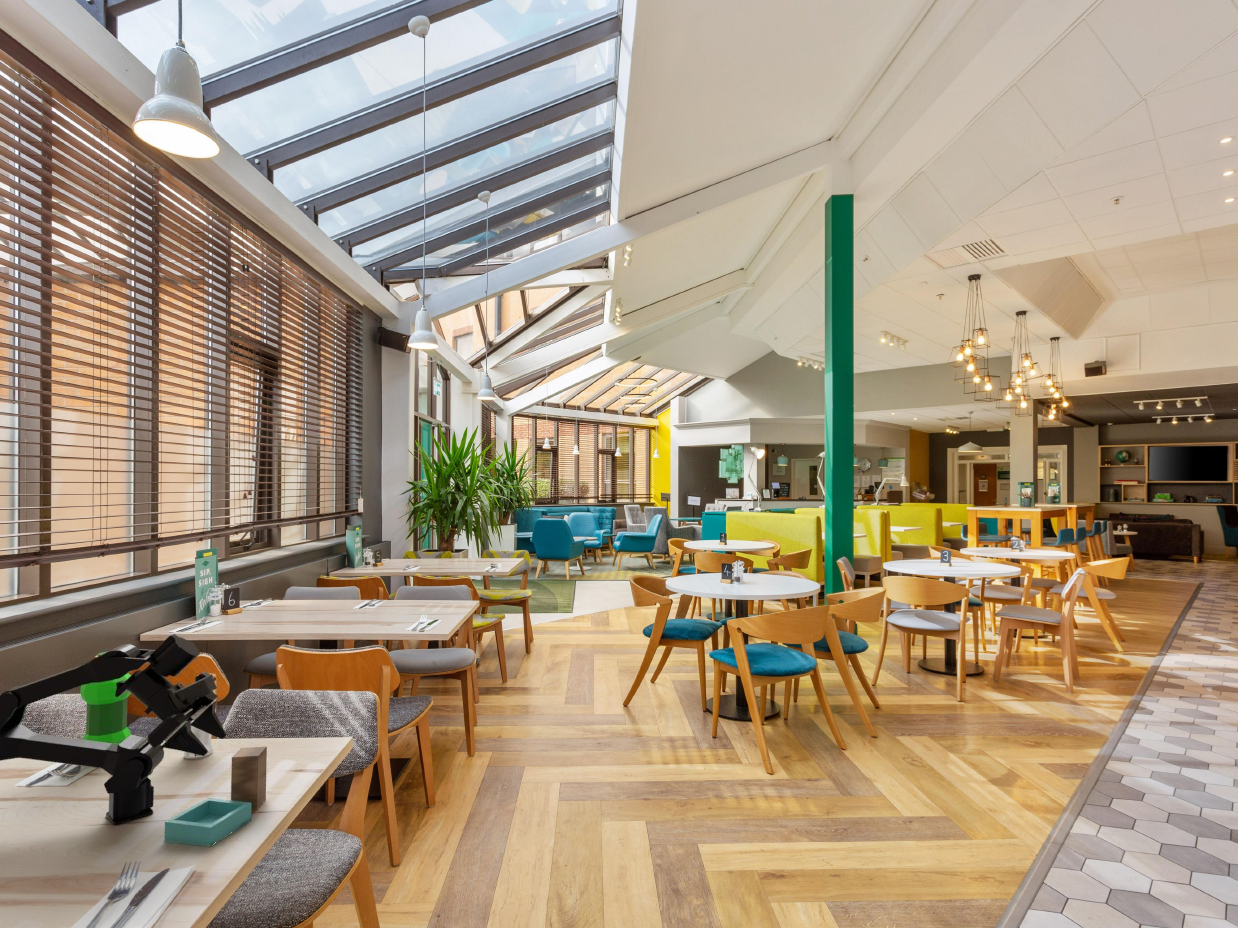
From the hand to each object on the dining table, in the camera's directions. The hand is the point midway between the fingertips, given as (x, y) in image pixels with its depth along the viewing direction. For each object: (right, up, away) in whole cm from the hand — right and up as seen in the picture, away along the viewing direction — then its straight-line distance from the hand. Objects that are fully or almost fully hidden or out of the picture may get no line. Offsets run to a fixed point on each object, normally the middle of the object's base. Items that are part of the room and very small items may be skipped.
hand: (215, 744), depth 139 cm
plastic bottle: (-42, -14, +26) cm, 52 cm away
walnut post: (+6, -13, +1) cm, 14 cm away
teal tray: (+4, -12, -10) cm, 16 cm away
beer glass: (-21, -14, +27) cm, 37 cm away
